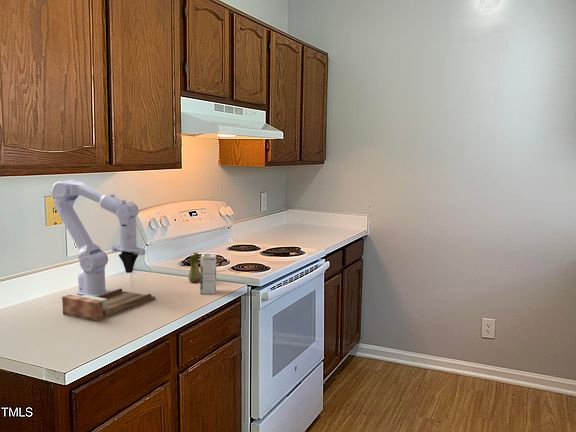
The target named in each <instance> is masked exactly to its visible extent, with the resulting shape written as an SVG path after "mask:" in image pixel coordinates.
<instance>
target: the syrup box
mask: <svg viewBox="0 0 576 432" xmlns="http://www.w3.org/2000/svg"><path fill="white" fill-rule="evenodd" d="M199 259H200V266H199V271H200V281H199V283H200V284H199V285H200V286H199V287H200V289H199V290H200V291H199V292H200V295H215V294H216V291H217V254H216V253H201V256H200V258H199Z"/></svg>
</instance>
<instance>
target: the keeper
mask: <svg viewBox="0 0 576 432" xmlns="http://www.w3.org/2000/svg"><path fill="white" fill-rule="evenodd" d="M79 296H80V297H85V298H90V299H96V300H101V301H103V310H105V309H107V299H105V298H100V297H94V296H89V295H79Z"/></svg>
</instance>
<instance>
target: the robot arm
mask: <svg viewBox="0 0 576 432" xmlns="http://www.w3.org/2000/svg"><path fill="white" fill-rule="evenodd" d="M50 194H51V196H52V197H53V199H54V207H55V210H56V212H57V214H58V215H59V217H60V219H61V221H62V222H63V224H64V225H65V228H66V229H67V231H68V233H69V234H70V236H71V237H72V238H71V239H72V240H73V242H74V243H75V245H76V247H77V248H78V254H77V258H78V260H79V265H80V268H81V271H79V274H78V276H77V277H78V278H77V281H78V282H77V283H78V292H77V295H80V296H83V295H89V296H94V297H95V296H99V295H102V294H105V293H108V292H111V290H108V289H106V272H105V271H106V270H105V269H106V266H107V264H108V261H109V256H108V254H107V253H106V251H103V250H102V249H101V247H100V246H99V245H98V244H96V243H94V242H93V240H92V238H91V237H90V235H89V233H88V231H87V229H86V228H85V226H84V224H83V222H82V221H81V219H80V218H79V215H78V213H77V212H76V211H75V208H74V204H75V202H76V200H77V199H78V198H79V197H80V196H82V197H84V198H87V199H89V200H90V201H91V200H92V201H93V202H96V203H99V205H100V207H101V209H103V210H105V211H107V212H110V213H112V214H114V215H115V216H116V217H117V219H118V223H119V245H112V246H111V247H112V248H111V249H112V252H118V253H119V252H120V253H119V254H118V257H119V258H120V260H121V261H122V264H123V266H124V271H125V272H126V273H127V274H131V273H133V271H134V267H135V264H136V262H137V258H138V257H139V256H145V255H146V249H144V248H141V247H138V246H137V245H138V244H137V216H138V215H139V207H138V206H137V204H136V203H134V202H133V201H128V202H127V200H126V199H121V198H119V197H117V196H116V195H115V194H114V193H106V194H103V193H102V192H100V191H98V190H96V189H94V188H93V187H90V186H88V185H87V184H85V183H84V182H82V181H79V180H77V179H69V180H58V181H56V182H54V184H53V185H52V188H51V191H50Z"/></svg>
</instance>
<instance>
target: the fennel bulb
mask: <svg viewBox="0 0 576 432" xmlns="http://www.w3.org/2000/svg"><path fill="white" fill-rule="evenodd" d="M189 257H190V258H189V259H190V269H189V273H188V280H189V282H190V283H200V266H199V253H198V252H193V254H190V256H189Z"/></svg>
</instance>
